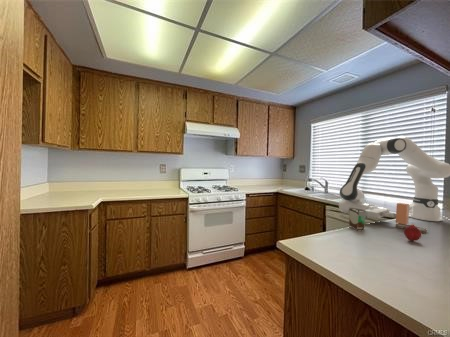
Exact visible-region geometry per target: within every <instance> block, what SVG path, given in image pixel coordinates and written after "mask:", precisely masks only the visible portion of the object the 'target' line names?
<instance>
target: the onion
mask: <svg viewBox="0 0 450 337" xmlns="http://www.w3.org/2000/svg"><path fill="white" fill-rule="evenodd" d="M410 225H411V226H408V227H407V228H405V229H403V234H404V235H405V237H406V238H407V239H408V240H409V241H411V242H415V241H418V240H420V239H421V237H422V233H421V232H420V230H419V229H418V228H417V227H418V226H417V227H415V226H416V225H415V224H414V223H411V224H410Z"/></svg>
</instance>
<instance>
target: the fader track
mask: <svg viewBox="0 0 450 337" xmlns="http://www.w3.org/2000/svg"><path fill="white" fill-rule="evenodd" d="M394 226H395V228H396V229H402V230H405V228H407V227H408V226H411V224H409V223H408V224H406V225H401V224H399V223H396V224H395V225H394ZM414 226H415V227H417V228H418V229H419V230H420V232H421V234H426V233H427V232H428V229H427V228H426V227H421V226H417V225H414Z"/></svg>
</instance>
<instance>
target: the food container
mask: <svg viewBox="0 0 450 337" xmlns="http://www.w3.org/2000/svg"><path fill="white" fill-rule="evenodd" d="M366 216H367V212H366V211H365V210H362V209H358V208H350V207H349V214H348V225H349V226H350V227H351V228H353V227H354V228H353V229H354V230H356V231H358V230H361V231H365V230H364V229H365V224H366V219H367V218H366Z"/></svg>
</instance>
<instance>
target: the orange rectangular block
mask: <svg viewBox="0 0 450 337" xmlns="http://www.w3.org/2000/svg"><path fill="white" fill-rule="evenodd" d="M409 205H410V203H405V202H397V203H396V213H395V223H396V224H398V223H399V224H401V225H406V224H408V225H409V219H410V217H409Z"/></svg>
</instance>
